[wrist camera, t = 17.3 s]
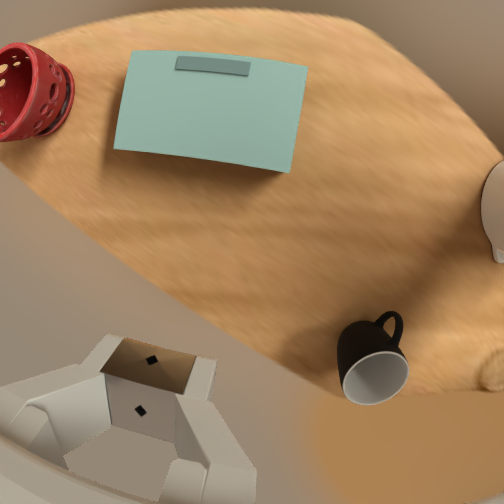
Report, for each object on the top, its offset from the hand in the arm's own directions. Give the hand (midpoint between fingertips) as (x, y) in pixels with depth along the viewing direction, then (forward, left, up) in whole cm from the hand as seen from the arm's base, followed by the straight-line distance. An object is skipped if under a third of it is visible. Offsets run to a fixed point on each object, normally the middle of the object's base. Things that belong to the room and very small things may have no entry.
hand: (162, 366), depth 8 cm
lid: (+6, -10, -29) cm, 31 cm away
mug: (-20, +16, -34) cm, 43 cm away
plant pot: (+32, -11, -34) cm, 48 cm away
